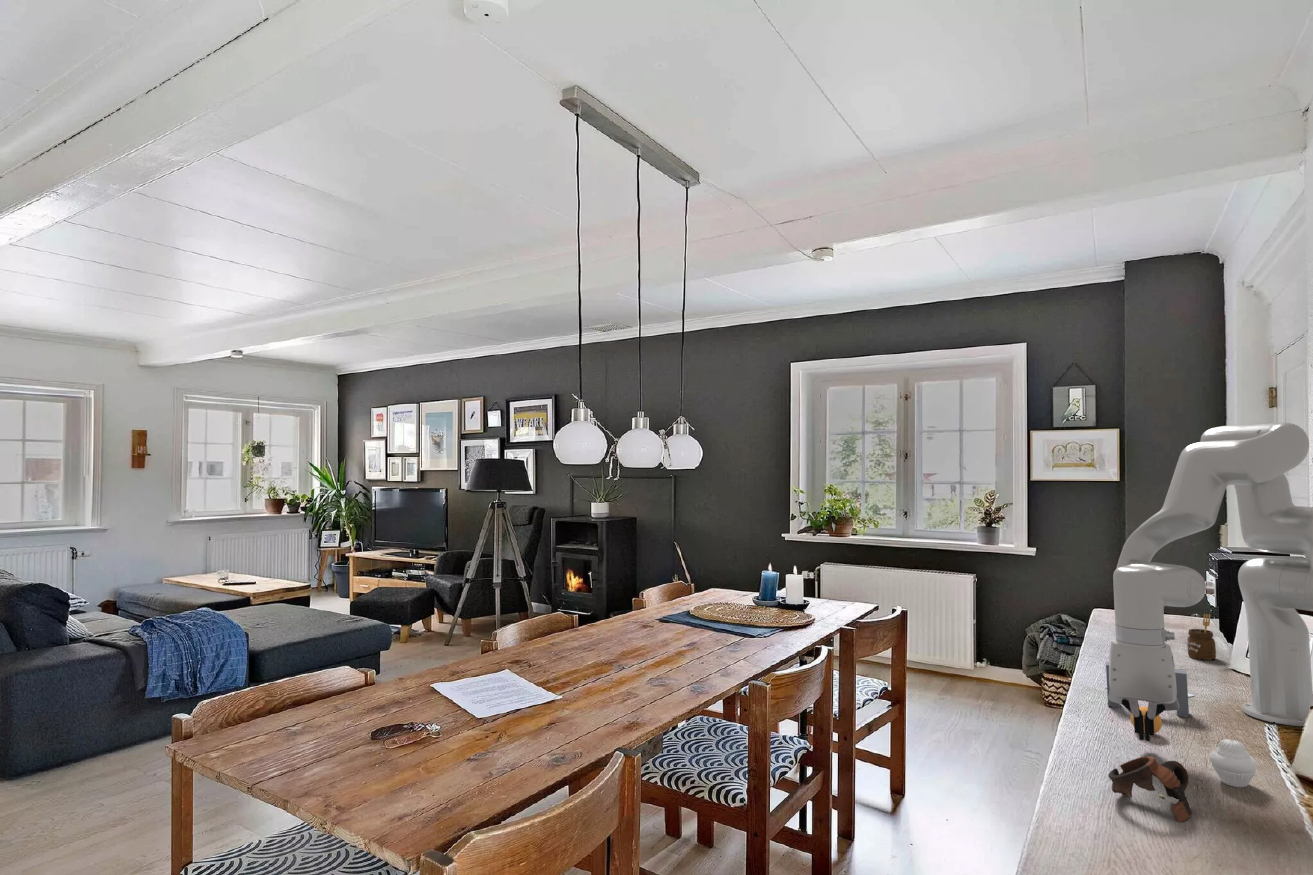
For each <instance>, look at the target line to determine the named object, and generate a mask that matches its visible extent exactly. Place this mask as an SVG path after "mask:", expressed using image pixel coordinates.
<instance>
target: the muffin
mask: <svg viewBox="0 0 1313 875" xmlns="http://www.w3.org/2000/svg"><path fill="white" fill-rule="evenodd" d="M1208 759H1209V761H1210V763H1211V766H1212V768H1213V769H1214V771H1215V773H1216V774H1217V776H1218V777H1219V779H1220V780H1221V782H1222V783H1223V784H1224V785H1227V786H1231V787H1235V788H1246V787H1247V786H1248V785H1249V784H1250V783H1251V781H1252V780H1253V778H1254V776H1255V775H1256V772H1257V770H1258V762H1257V761H1256V759H1254V758H1253V757H1252V756H1251V755H1250V753H1249V752H1248V751H1247V748H1246V745H1245V744H1243V743H1242V742H1240V741H1238V740H1235V739H1234V740H1233V739H1229V738H1228V739H1227V738H1225V739H1222V740H1220V741H1219V742H1218V746H1217V747H1216V748H1215V749H1214V750H1212V751H1211V752H1210V753H1209V757H1208Z"/></svg>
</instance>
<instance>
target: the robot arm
mask: <svg viewBox="0 0 1313 875" xmlns="http://www.w3.org/2000/svg"><path fill="white" fill-rule="evenodd" d="M1309 448H1310V440H1309V436H1308V434H1307V432H1306V431H1305V430H1304V429H1303V428H1302V427H1300V426H1299V425H1297V424H1295V423H1291V422H1271V423H1270V422H1269V423H1268V422H1266V423H1252V424H1251V423H1247V424H1235V425H1234V424H1233V425H1231V424H1230V425H1222V426H1216V427H1215V426H1214V427H1212V428H1209V429H1207V430H1206V431H1204V432H1203V433H1202V434H1201V436H1200V441H1199V442H1194V443H1192V444H1189V445H1186V447H1185V448H1183V449H1182V451H1181V452H1180V455H1179V457H1178V460H1177V463H1176V466H1175V469H1174V471H1173V475H1172V479H1171V480H1170V485H1169V487H1168V491H1167V494H1166V496H1165V498H1164V502H1163V505H1162V507H1161V509H1160V510H1159V511H1157V512H1156V513H1155V514H1153V515H1152V516H1151V517H1149V518H1148V519H1147V520H1145V521H1144V522H1143V523H1141V524H1140V525H1139V527H1136V529H1135V530H1134V531H1133V532H1132V533H1131V534H1130V535H1129V536H1128V537H1127V539H1126V541H1125V542H1124V544H1123V546H1122V549H1121V552H1120V555H1119V558H1118V560H1117V561H1118V562H1117V565H1116V569H1115V570H1114V571H1113V575H1112V576H1113V577H1112V580H1113V583H1112V584H1113V602H1114V603H1113V604H1114V624H1115V626H1114V627H1115V631H1114V632H1115V638H1114V639H1111V641H1110V645H1109V646H1110V649H1109V657H1108V658H1109V661H1108V662H1109V686H1110V692H1109V696H1108V695H1107V700H1108V699H1109V700H1110V701H1112V702H1115V703H1118V704H1120V705H1122V706H1123V707H1124V708H1125V709H1126V710H1127V711H1128V712H1129V713H1130V714H1132V715H1133V716H1134V726H1133V727H1134V734H1138V739H1139V741H1144V740H1145V741H1146V742H1151V736H1152V737H1155V734H1154V719H1155V717H1156V716H1158V715H1161V714H1162V713H1163V712H1165V711H1167V712H1169V711H1177V710H1178V709H1179V704H1178V701H1177V698H1176V694H1177V686H1176V675H1175V669H1176V668H1175V661H1174V655H1173V651H1172V647H1171V645H1170V644H1168V643H1166V642H1168V641H1170V640H1171V641H1175V636H1176V635H1175V632H1171V631H1167V629H1165V614H1164V611H1165V610H1164V608H1165V607H1176V608H1187V607H1192V606H1195V605H1196V604H1199V602H1201V601H1202V600H1203V598H1204V596H1205V595H1206V590H1207V584H1206V581H1205V579H1204V577H1203V576H1202V575H1201V574H1200V573H1199V571H1197V570H1195V569H1194V568H1191V567H1188V566H1186V565H1179V564H1170V563H1163V562H1153V561H1152V559H1153V557H1155V554H1156V553H1158V551H1159V550H1160V549H1162V548H1163V547H1165V546H1166V545H1169V543H1171V542H1174V541H1176V540H1178V539H1181V538H1185V537H1188V536H1191V535H1194V534H1196V533H1199V532H1202V531H1205V530H1208V529H1209V528H1211V527H1212V526H1214V525H1215V523H1216V521H1217V518H1218V515H1219V512H1220V507H1221V504H1222V502H1223V498H1224V495H1225V492H1226V490H1227V488H1228V486H1234V490H1235V495H1236V499H1237V500H1236V502H1237V509H1238V515H1239V517H1238V518H1239V525H1240V530H1241V535H1242V538H1243V541H1244V543H1245V545H1246V546H1247V547H1249V548H1250V549H1252V550H1255V551H1259V552H1265V553H1272V554H1284V555H1285V554H1286V555H1296V556H1304V557H1306V559H1307V561H1305V560H1296V559H1289V558H1288V559H1286V558H1276V557H1256V558H1252V559H1249V560H1246V561H1245V562H1244V563H1243V564H1242V565H1241V566H1240V568H1239V570H1238V574H1237V582H1238V586H1239V590H1240V593H1241V596H1242V600H1243V604H1244V608H1245V615H1246V625H1247V626H1246V628H1247V639H1248V640H1247V642H1248V644H1247V645H1248V659H1249V674H1250V692H1251V701H1247V702H1244V703H1243V704H1242V711H1243V712H1244V713H1245V714H1246V715H1248V716H1250V717H1253V718H1255V719H1258V720H1261V721H1264V722H1269V723H1273V722H1275V723H1274V724H1277V725H1278V724H1279V725H1284V726H1285V725H1286V726H1292V727H1304V726H1303V725H1304V723H1305V718H1306V717H1307V715H1308V713H1309V709H1310V707H1311V706H1313V676H1312V675H1313V674H1312V661H1311V645H1310V631H1309V628H1308V626H1307V623H1306V621H1304V619H1303V618H1302V616H1301V615H1300V614H1299V612H1298V610H1301V611H1302V610H1303V611H1307V612H1308V611H1309V612H1313V506H1302V505H1301V506H1300V505H1298V506H1296V505H1295V504H1294V503H1293V500H1292V495H1291V489H1290V484H1289V481H1288V480H1289V479H1288V478H1287V476H1286V475H1285V474H1286V473H1287V472H1289V471H1291V470H1294V468H1296V467H1298V466H1299V465H1300V464H1302V463H1303V461H1304V460H1305V459H1306V458H1307V455H1308V453H1309ZM1139 701H1141V702H1142V701H1143V702H1147V703H1148V705H1147V707H1148V710H1147V711H1146V712H1145V715H1144V719H1143V715H1142V711H1141V710H1140V709H1139V707H1140V704H1139ZM1301 725H1302V726H1301ZM1144 727H1145V734H1144Z"/></svg>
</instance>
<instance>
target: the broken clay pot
mask: <svg viewBox="0 0 1313 875" xmlns="http://www.w3.org/2000/svg"><path fill="white" fill-rule="evenodd" d="M1120 770H1122V772H1119V770H1118V769H1117V768H1116V767H1115V768H1113V769H1112V770H1110V771H1109V773H1108V778H1109V779H1110V780H1111V782H1112V784H1111V791H1112V792H1113V793H1114V794H1121V795H1122V796H1123V797H1124V796H1129V798H1132V797H1133V794H1132V793H1133V787H1134V785H1135V786H1136V787H1138V788H1140V789H1145V790H1146V791H1148V792H1155V791H1156V787H1155V786H1154V785H1153V783H1154V782H1153V781H1154V780H1153V776H1154V777H1155V778H1156V779H1158V781H1159V782H1160V783H1161V784H1162V785H1163V787H1164V789H1165V793H1166V795H1167V796H1168V797H1169V798H1172V799H1175V800H1178V801H1177V802H1176V803H1175V804H1173V805H1172V806H1171V807H1170V810H1171V812H1172V813H1173V814H1174V815H1175V819H1176V822H1178V823H1182V822H1184V821H1186V820H1187V819H1188V818H1190V817H1191V816H1192V815H1193V811H1192V809H1191V806H1190V803H1189V801H1188V798H1187V796H1186V793H1185V792H1186V789H1187V787H1188V783H1189V773H1188V771H1187V769H1186V768H1185V767H1184V765H1183V764H1181V763H1180V762H1178V761H1176V760H1167V761H1164V762H1163V763H1160V764H1159V763H1158V762H1157V760H1156V759H1155V757H1153V756H1148V755H1145V756H1140V757H1137V758H1133V759H1131V760H1129V761H1126V762H1124V763H1122V764H1120Z"/></svg>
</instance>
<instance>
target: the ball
mask: <svg viewBox="0 0 1313 875" xmlns="http://www.w3.org/2000/svg"><path fill="white" fill-rule="evenodd" d="M1139 709H1140V710H1141V711H1142V715H1143V719H1144V715H1145V712H1146V711H1147V710H1148V706H1139ZM1160 715H1161V714H1159V715H1158V716H1156V717H1155V719H1154V735H1155V734H1157V733H1159V731H1160V730H1161V729H1162V726H1163V721H1162V720H1163V719H1162V717H1161V716H1160ZM1130 721H1131V722H1130V723H1131V724H1132V726H1133V727H1134V716H1133V715H1132V713H1130ZM1144 735H1145V727H1144Z"/></svg>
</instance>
